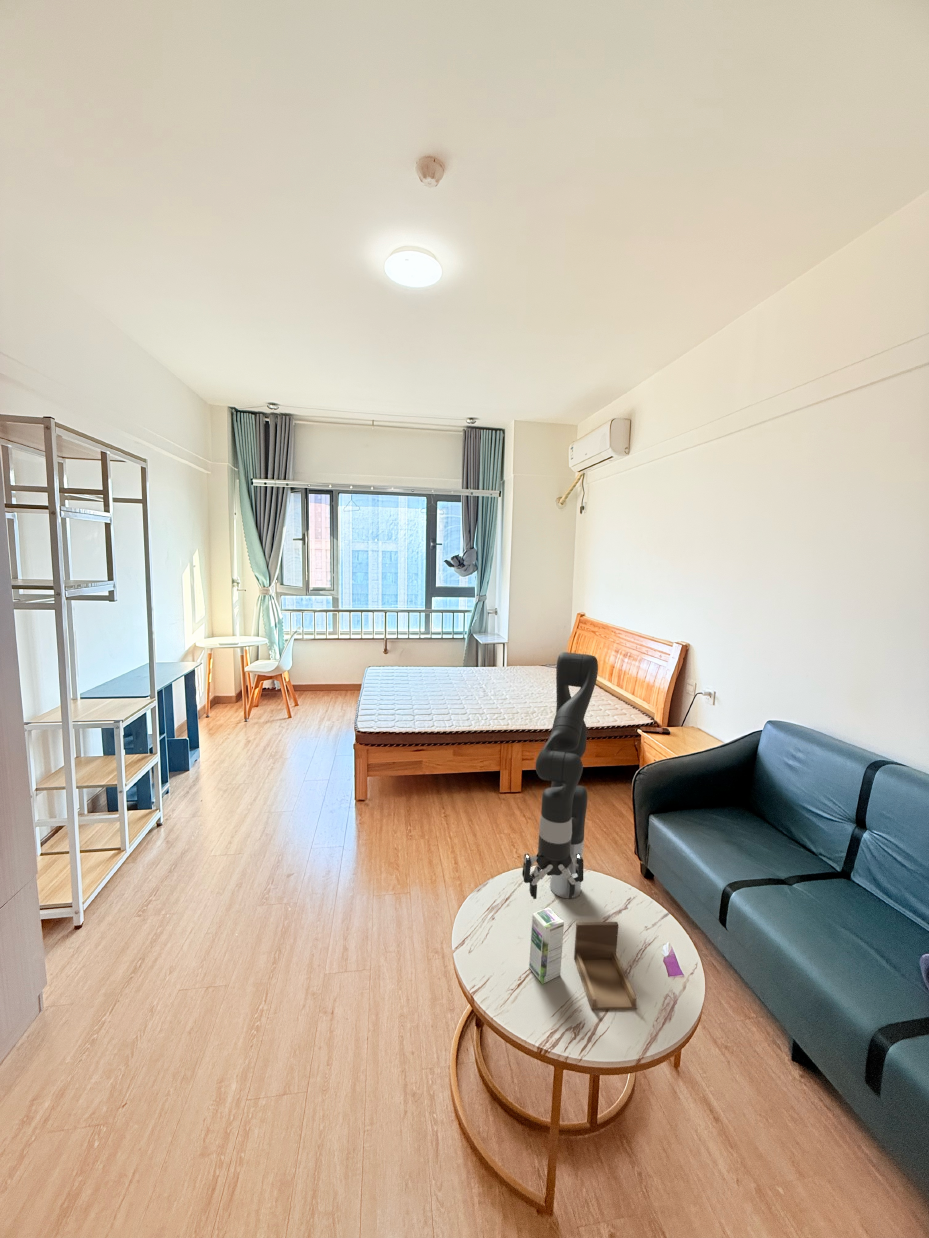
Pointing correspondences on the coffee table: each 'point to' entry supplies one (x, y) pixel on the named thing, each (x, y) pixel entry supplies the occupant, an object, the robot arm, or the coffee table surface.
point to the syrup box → (546, 945)
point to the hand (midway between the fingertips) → (551, 896)
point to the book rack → (602, 966)
